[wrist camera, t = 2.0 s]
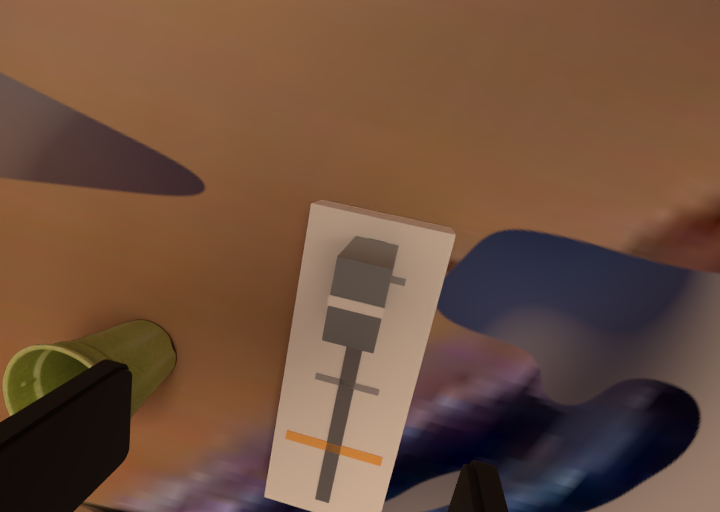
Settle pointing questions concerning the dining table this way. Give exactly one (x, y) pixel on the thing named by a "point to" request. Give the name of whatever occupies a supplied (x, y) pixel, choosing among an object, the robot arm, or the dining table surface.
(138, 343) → the plant pot
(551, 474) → the dining table surface
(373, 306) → the fader
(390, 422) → the console
